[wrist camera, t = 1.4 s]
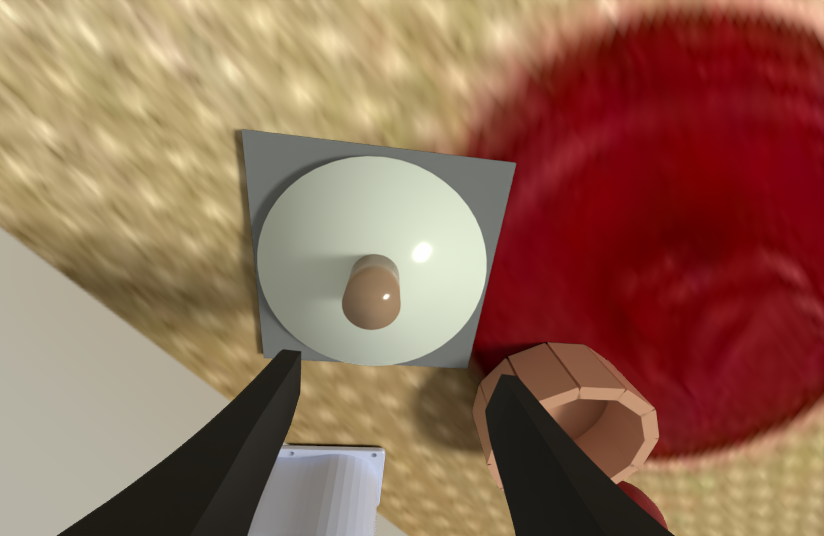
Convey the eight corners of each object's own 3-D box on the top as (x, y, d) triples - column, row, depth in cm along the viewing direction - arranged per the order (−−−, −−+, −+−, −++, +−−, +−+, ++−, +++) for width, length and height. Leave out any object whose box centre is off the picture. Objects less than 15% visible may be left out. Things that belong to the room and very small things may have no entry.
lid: (270, 353, 21) (242, 401, 17) (252, 140, 16) (205, 141, 12) (462, 362, 23) (476, 410, 19) (505, 170, 17) (538, 179, 13)
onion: (560, 488, 31) (612, 599, 23) (594, 452, 29) (663, 561, 21) (604, 499, 32) (667, 607, 24) (640, 465, 30) (720, 572, 22)
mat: (266, 353, 22) (263, 358, 21) (245, 129, 16) (241, 129, 16) (465, 364, 23) (467, 368, 23) (512, 162, 17) (516, 163, 17)
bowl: (462, 447, 27) (475, 502, 23) (491, 338, 22) (513, 383, 18) (585, 450, 28) (618, 503, 24) (636, 347, 24) (688, 391, 20)
